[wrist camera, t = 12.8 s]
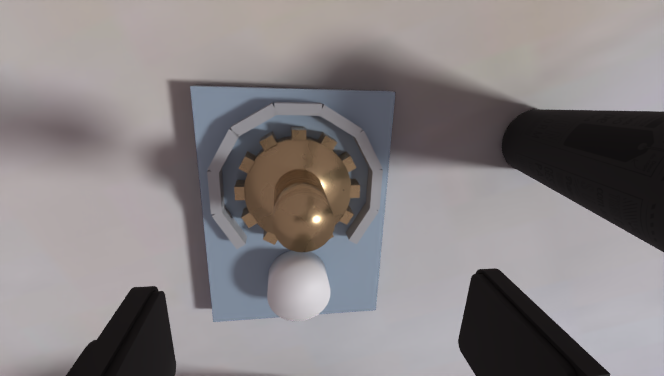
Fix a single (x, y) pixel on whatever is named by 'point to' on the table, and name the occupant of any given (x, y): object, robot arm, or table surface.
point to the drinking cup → (597, 163)
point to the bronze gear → (297, 189)
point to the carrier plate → (247, 243)
